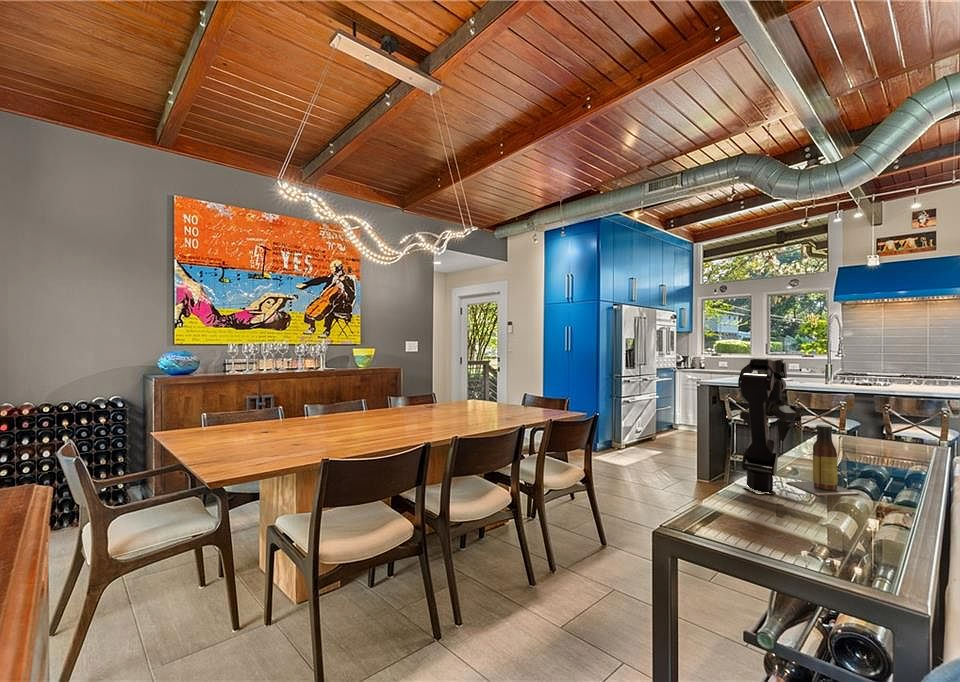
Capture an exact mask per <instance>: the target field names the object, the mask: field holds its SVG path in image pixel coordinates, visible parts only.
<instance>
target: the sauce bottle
mask: <svg viewBox="0 0 960 682" xmlns="http://www.w3.org/2000/svg"><path fill="white" fill-rule="evenodd" d="M815 429H816V433H817V434H816V440H815V442H814V443H813V445H812V481H813V482H814V486H815V487H817V488H820V489H823V490H836V489H837V486H838V481H839V480H838V476H839V475H838V453H837V449H836V447H835V444H834V442H833V438H832V435H833V432H832V431H833V426H832V425H828V424H816V425H815Z"/></svg>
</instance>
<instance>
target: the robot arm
mask: <svg viewBox="0 0 960 682" xmlns="http://www.w3.org/2000/svg"><path fill="white" fill-rule="evenodd" d="M754 371H757V373H753V372H754ZM787 378H788V374H787V362H786V361H784V359H783V358H776V357H775V358H774V357H771V358H770V357H753V358H752V357H751V358H750V360H749V363H747V365H746V366H744V367H743V368H742V369H740V373H739V377H738V379H737V380H738V382H737V384H738V389H740V394H741V396H742V398H743V399H744V400H745V401H746V402H747V404H748V410H741V412H740V413H739V419H740V420H742V421H743V422H744V423H746V425H747V427H748V428H749V429H750V436H751V438H750V441H748V445H747V447H746V448H745V451H744V452H743V455H742V460H741V469H742V471H746V486H747V485H748V486H749V487H750V488H752V489H754V490H758V491H761V492H769V493H774V494H773V495H776V494H777V491H774V490H773V489H774V476H775V475H776V474H777V471H778V470H777V469H778V459H779V455H778V453H777V452H776V444H775V442H774V440H773V439H769V431H768V430H769V429H768V419H769V420H771V419H772V420H773V419H775V420H776V422H777V423H776V424H777V431H778V437H779V441H780V442H784V441H785V440H786V439H785V438H787V437H786V436H787V435H788V433H789V431H790V429H791V428H792V427H793V426H794V425H796V424H798V422H802V414H801V407H800V406H799V405H797V404H796V405H786V403H785V402H786V401H785V399H783V398H782V392H783V391H785V390H786V388H787V383H786V381H785V379H787Z"/></svg>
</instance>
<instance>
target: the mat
mask: <svg viewBox="0 0 960 682" xmlns="http://www.w3.org/2000/svg"><path fill="white" fill-rule="evenodd" d="M786 482H787V483H789V484H791V485H790V486H792V485H793V486H792V487H795V488H797V489H800V490H802V491H804V492H807V493H809V494H812V495H814V496H817V497H835V496H859V492H857V491H852V490H850V489H849V488H848V489H847V488H846V487H845V488H844V487H841V486H839V485H837V489H836V490H823V489H820V488H817V487H815V486H814V482H813V480H811V481H810V480H807V481H806V480H805V481H803V480H802V481H786ZM787 483H786V484H787ZM789 484H788V485H789Z"/></svg>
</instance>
